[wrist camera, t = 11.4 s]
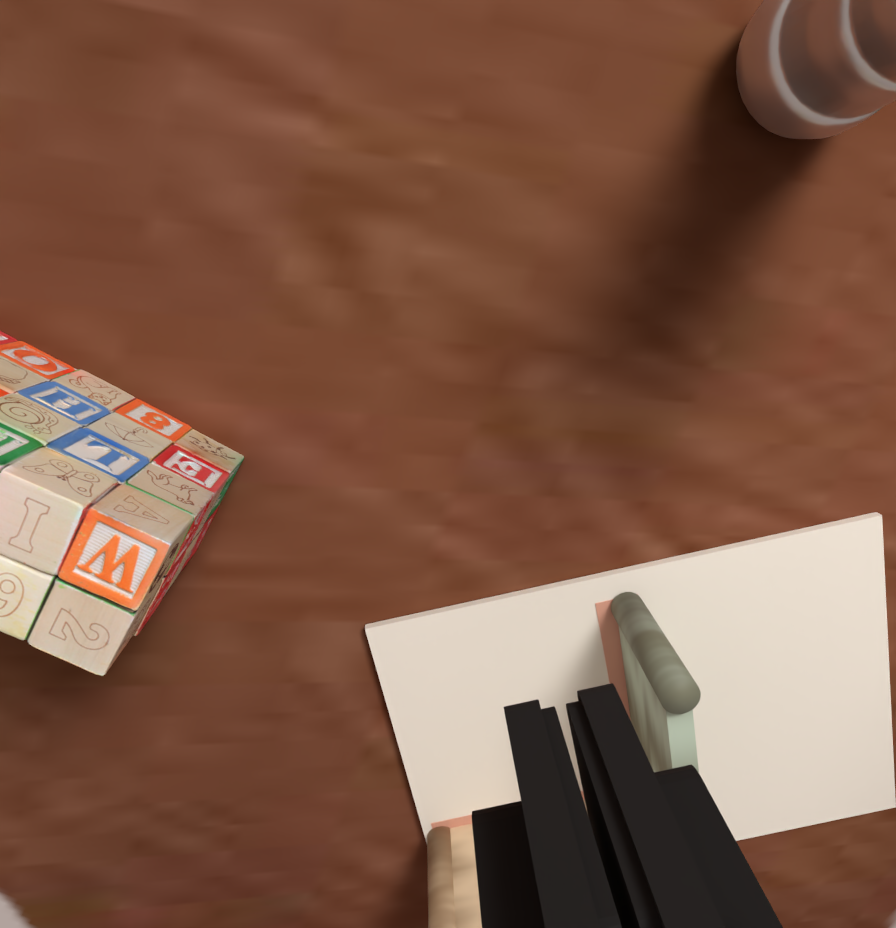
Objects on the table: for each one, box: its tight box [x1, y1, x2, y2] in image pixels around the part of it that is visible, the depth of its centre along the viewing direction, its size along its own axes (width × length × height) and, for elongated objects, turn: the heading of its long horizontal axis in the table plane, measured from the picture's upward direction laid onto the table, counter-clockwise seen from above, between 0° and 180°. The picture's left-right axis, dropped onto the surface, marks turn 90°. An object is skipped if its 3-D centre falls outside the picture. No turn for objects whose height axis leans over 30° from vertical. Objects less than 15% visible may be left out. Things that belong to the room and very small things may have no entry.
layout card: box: [365, 512, 896, 843], centre depth 42 cm, size 29×20×1 cm
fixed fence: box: [427, 800, 588, 928], centre depth 39 cm, size 15×2×9 cm, turn 102°
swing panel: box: [611, 592, 701, 773], centre depth 37 cm, size 12×2×8 cm, turn 10°
